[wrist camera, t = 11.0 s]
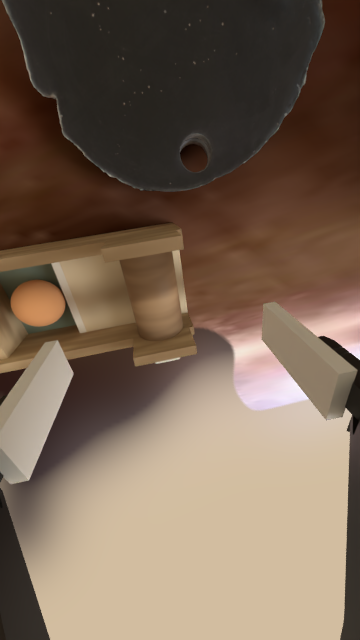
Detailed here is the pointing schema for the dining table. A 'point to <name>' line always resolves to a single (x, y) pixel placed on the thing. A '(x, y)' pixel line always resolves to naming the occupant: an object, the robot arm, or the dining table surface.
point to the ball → (38, 303)
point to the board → (168, 78)
